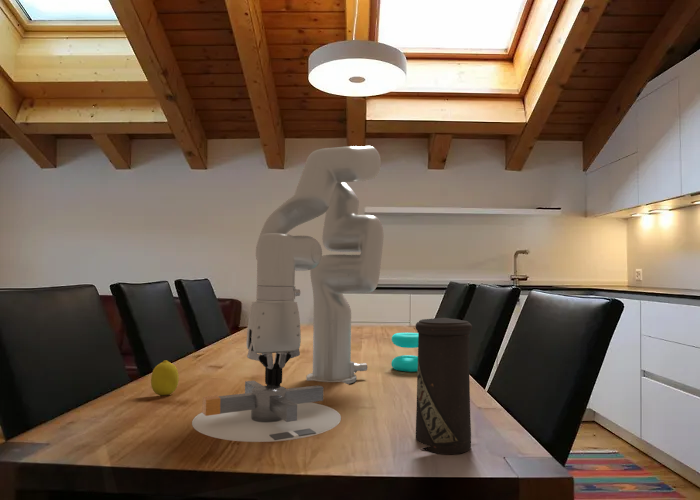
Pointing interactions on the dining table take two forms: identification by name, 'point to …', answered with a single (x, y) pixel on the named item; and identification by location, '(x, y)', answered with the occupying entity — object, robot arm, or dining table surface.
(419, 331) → the container
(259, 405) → the capstan
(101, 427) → the dining table surface
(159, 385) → the lemon
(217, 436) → the stand
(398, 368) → the donuts
